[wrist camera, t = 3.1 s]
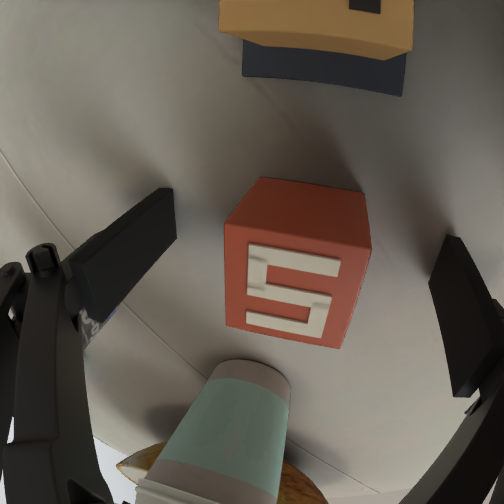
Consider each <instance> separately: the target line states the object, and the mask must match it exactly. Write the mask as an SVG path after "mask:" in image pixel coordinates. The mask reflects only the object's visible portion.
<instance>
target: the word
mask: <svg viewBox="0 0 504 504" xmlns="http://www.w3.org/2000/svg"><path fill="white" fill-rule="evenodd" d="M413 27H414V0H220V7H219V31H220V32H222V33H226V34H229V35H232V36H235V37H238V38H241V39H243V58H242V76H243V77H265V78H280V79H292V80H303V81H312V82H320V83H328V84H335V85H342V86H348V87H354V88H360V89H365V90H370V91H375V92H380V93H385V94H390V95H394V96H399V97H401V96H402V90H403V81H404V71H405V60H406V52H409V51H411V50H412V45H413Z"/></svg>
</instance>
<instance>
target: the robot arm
mask: <svg viewBox="0 0 504 504" xmlns="http://www.w3.org/2000/svg"><path fill="white" fill-rule="evenodd" d="M176 239H177V234H176V224H175V212H174V200H173V189H166V188H158V189H157V190H156V191H154V192H153V193H151V194H150V195H149V196H147V197H146V198H145V199H143V200H142V201H141V202H139V203H138V204H137V205H135V206H134V207H133V208H131V209H130V210H129V211H127V212H126V213H125V214H123V215H122V216H121V217H120V218H118V219H117V220H116V221H114V222H113V223H112V224H111V225H109V226H108V227H107V228H106V229H104V230H102V231H100V232H98V233H96V234H94V235H93V236H91V237H90V238H89V239H88V240H87V241H86V242H84V243H83V244H82V245H80V247H78V248H77V249H76V250H75V251H73V252H72V253H71V254H70V255H69V256H67V257H66V258H65V259H64V260H63V261H62V262H60V258H59V255H58V252H57V249H56V246H55V245H54V244H52V243H44V244H40V245H37V246H36V247H34V248H32V249H31V250H30V251H29V252H27V254H26V256H25V257H26V260H27V263H28V265H29V268H30V270H31V273H24V270H23V268H22V265H21V263H19V262H10V263H8V264H5V265H4V266H3V267H2V268H0V480H1V476H2V470H3V476H4V485H5V495H6V503H7V504H114V502H113V498H112V495H111V492H110V490H109V488H108V485H107V483H106V482H105V480H104V479H103V477H102V474H101V472H100V469H99V464H98V459H97V455H96V450H95V445H94V439H93V434H92V428H91V422H90V415H89V408H88V400H87V392H86V383H85V373H84V360H83V344H82V319H81V316H80V313H79V312H80V311H81V310H82V309H83V308H85V310H86V313H87V315H88V318H90V319H92V320H95V321H97V322H100V323H104V322H105V321H106V319H107V318H108V317H109V316H110V314H111V313H112V312H113V311H114V310H115V308H116V307H117V306H118V305H119V304H120V302H121V301H122V300H123V299H124V298H125V297H126V295H127V294H128V293H129V292H130V291H131V289H132V288H133V287H134V286H135V285H136V284H137V283H138V281H139V280H140V279H141V278H142V277H143V276H144V274H145V273H146V272H147V271H148V270H149V269H150V268H151V267H152V265H153V264H154V263H155V262H156V261H157V260H158V259H159V258H160V256H161V255H162V254H163V253H164V252H165V251H166V250H167V249H168V248H169V246H170V245H171V244H172V243H173V242H174V241H175V240H176ZM428 285H429V288H430V291H431V295H432V299H433V302H434V306H435V310H436V314H437V318H438V322H439V326H440V330H441V334H442V339H443V343H444V348H445V353H446V358H447V363H448V369H449V374H450V380H451V386H452V393H453V397H466V398H470V397H471V396H472V394H473V393H474V392H475V391H476V390H477V389H478V388H479V392H480V397H479V398H478V399H477V400H476V401H475V402H474V403H473V404H472V405H471V406H470V408H469V409H468V410H467V411H466V412H465V414H467V413H468V414H467V416H466V417H465V419H464V420H463V422H462V424H461V425H460V427H459V428H458V430H457V431H456V433H455V434H454V436H453V437H452V439H451V440H450V441H449V443H448V444H447V446H446V447H445V448H444V450H443V451H442V452H441V454H440V455H439V456H438V458H437V459H436V460H435V462H434V463H433V464H432V466H431V467H430V468H429V469H428V471H427V472H426V473H425V474H424V475H423V477H422V478H421V479H420V480H419V481H418V483H417V484H416V485H415V486H414V487H413V488H412V489H411V491H410V492H409V493H408V494H407V495H406V496H405V497H404V498H403V499H402V500H401V502H400V503H399V504H482V503H483V501H484V500H485V498H486V496H487V495H488V493H489V491H490V490H491V488H492V486H493V484H494V483H495V481H496V479H497V477H498V480H497V482H496V485H495V488H494V491H493V494H492V497H491V500H490V502H489V504H504V309H503V307H502V306H501V305H500V304H499V303H498V301H497V300H496V299H492V298H491V295H490V293H489V291H488V289H487V287H486V285H485V283H484V281H483V279H482V277H481V275H480V273H479V271H478V269H477V267H476V265H475V263H474V261H473V259H472V258H471V256H470V254H469V252H468V250H467V248H466V247H465V245H464V243H463V241H462V240H461V238H460V237H456V236H451V235H446V238H445V241H444V243H443V246H442V249H441V252H440V254H439V257H438V260H437V262H436V265H435V267H434V270H433V272H432V275H431V277H430V280H429V282H428ZM9 309H11V311H12V312H13V314H14V316H13V318H12V320H11V319H10V317H9V315H8V313H9ZM13 412H14V440H13V441H12V442H11V443H8V444H7V440H8V435H9V430H10V424H11V420H12V416H13ZM498 475H499V476H498ZM122 504H130V503H128V502H125V501H123V503H122Z"/></svg>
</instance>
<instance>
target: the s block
mask: <svg viewBox="0 0 504 504" xmlns="http://www.w3.org/2000/svg"><path fill="white" fill-rule="evenodd" d="M371 252H372V245H371V236H370V228H369V221H368V214H367V207H366V200H365V194H364V193H360V192H354V191H349V190H343V189H338V188H332V187H326V186H320V185H314V184H308V183H301V182H295V181H288V180H281V179H274V178H266V177H259V179H258V180H257V181H256V182H255V184H254V185H253V186H252V187H251V189H250V190H249V191H248V193H247V194H246V195H245V197H244V198H243V199H242V200H241V202H240V203H239V204H238V206H237V207H236V208H235V210H234V211H233V212H232V214H231V215H230V216H229V217H228V219H227V220H226V221H225V223H224V261H225V311H226V326H229V327H234V328H238V329H242V330H247V331H251V332H255V333H260V334H265V335H269V336H274V337H279V338H284V339H288V340H293V341H298V342H304V343H309V344H314V345H320V346H325V347H331V348H337V349H340V348H341V345H342V343H343V340H344V337H345V334H346V331H347V329H348V326H349V323H350V320H351V317H352V314H353V311H354V308H355V305H356V302H357V299H358V296H359V292H360V289H361V286H362V283H363V279H364V276H365V273H366V269H367V266H368V262H369V259H370V255H371Z"/></svg>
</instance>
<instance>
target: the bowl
mask: <svg viewBox="0 0 504 504" xmlns="http://www.w3.org/2000/svg"><path fill="white" fill-rule="evenodd" d="M167 442H168V441H166V442H162V443H158V444H155V445H153V446H150V447H148V448H145V449H143V450H140V451H138V452H136V453H134V454H133V455H131V456H129V457H127V458H126V459H124V460H123V461H121V462H120V463H118V464H117V465H116V467H117V469H118V470H119V471H120V472H121V473H122V474H123V475H124V476H125V477H127V478H128V479H129V480H131V481H132V482H134V483H136V484H137V485H138V478H142V479H144V477H145V476H146V474H147V473H148V471H149V470H150V468H151V467H152V465H153V464H154V462H155V461H156V459H157V458H158V456H159V455H160V453H161V452H162V450H163V449H164V447H165V445H166V444H167ZM276 504H328V502H327V500H326V499H325V497H324V496H323V494H322V493H321V491H320V490H319V489H318V488H317V487H316V485H315V484H314V483H313V482H312V481H311V480H310V479H309V478H308V477H307V476H306V475H305V474H303V473H302V472H301V471H300V470H298V469H297V468H296V467H294V466H293V465H292V464H290V463H289V462H288V461H286V460H285V459H284V458H283V462H282V470H281V477H280V484H279V490H278V497H277V503H276Z"/></svg>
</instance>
